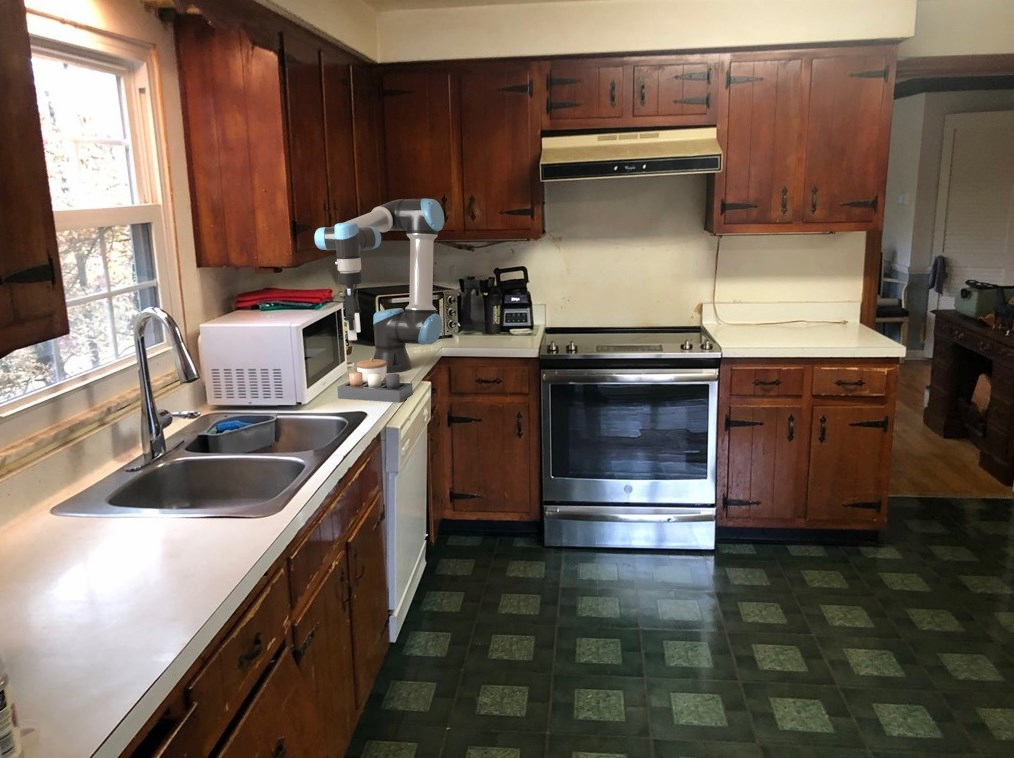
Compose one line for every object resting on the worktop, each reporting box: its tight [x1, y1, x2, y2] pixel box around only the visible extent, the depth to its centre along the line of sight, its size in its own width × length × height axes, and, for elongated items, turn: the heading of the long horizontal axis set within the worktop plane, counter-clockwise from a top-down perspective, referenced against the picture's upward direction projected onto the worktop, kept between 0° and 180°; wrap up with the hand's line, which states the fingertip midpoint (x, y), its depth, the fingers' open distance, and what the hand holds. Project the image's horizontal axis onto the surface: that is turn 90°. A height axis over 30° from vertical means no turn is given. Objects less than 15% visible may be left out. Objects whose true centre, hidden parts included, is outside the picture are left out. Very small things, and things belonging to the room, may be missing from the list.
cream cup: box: [368, 373, 382, 388], centre depth 267 cm, size 4×4×5 cm
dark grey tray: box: [336, 380, 414, 403], centre depth 268 cm, size 10×23×4 cm, turn 71°
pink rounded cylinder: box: [348, 371, 363, 387], centre depth 269 cm, size 4×4×5 cm
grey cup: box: [385, 373, 401, 389], centre depth 265 cm, size 4×4×5 cm
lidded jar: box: [356, 357, 387, 382], centre depth 286 cm, size 11×11×9 cm
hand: (354, 336), depth 261 cm, fingers open, 13 cm apart
